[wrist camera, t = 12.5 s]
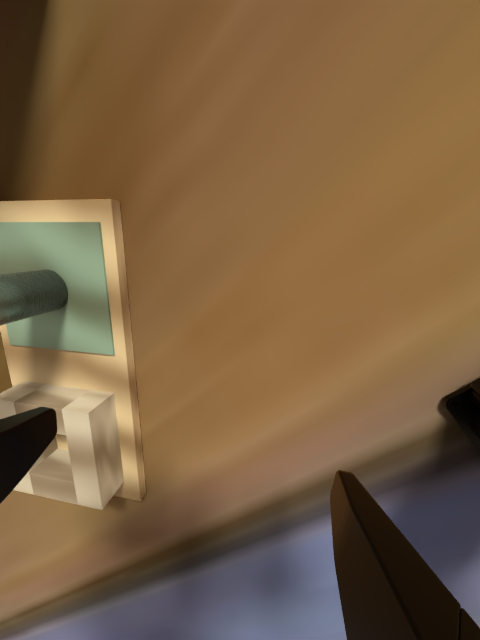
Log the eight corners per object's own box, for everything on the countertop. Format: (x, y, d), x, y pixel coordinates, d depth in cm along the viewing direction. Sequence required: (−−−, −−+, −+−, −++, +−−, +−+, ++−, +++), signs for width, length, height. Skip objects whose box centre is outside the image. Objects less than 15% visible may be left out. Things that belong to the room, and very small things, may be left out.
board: (146, 492, 27) (121, 532, 23) (41, 471, 29) (2, 504, 26) (119, 201, 20) (77, 191, 17) (-14, 203, 23) (-78, 195, 19)
